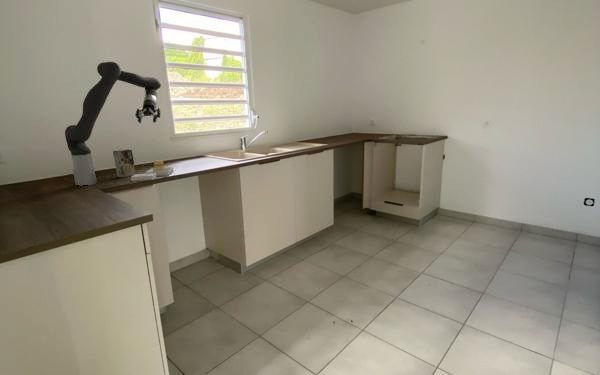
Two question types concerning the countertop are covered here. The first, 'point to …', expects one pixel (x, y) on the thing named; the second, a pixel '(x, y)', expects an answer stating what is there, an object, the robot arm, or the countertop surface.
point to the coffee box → (124, 163)
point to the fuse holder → (143, 177)
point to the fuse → (159, 166)
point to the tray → (161, 172)
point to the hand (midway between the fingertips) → (146, 122)
